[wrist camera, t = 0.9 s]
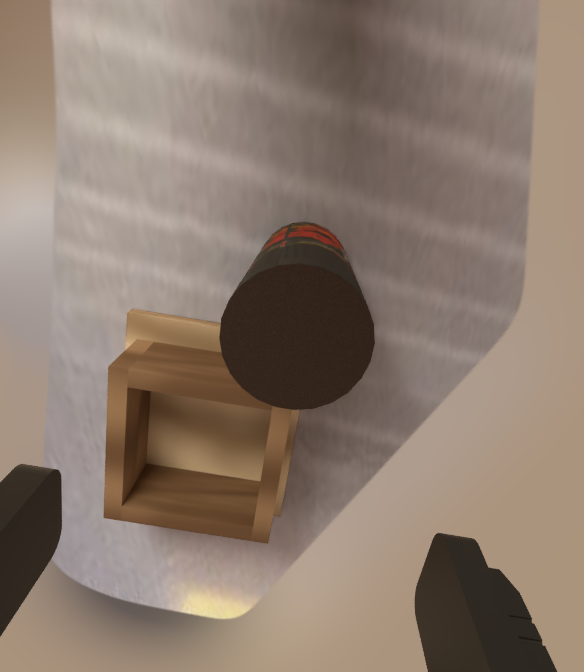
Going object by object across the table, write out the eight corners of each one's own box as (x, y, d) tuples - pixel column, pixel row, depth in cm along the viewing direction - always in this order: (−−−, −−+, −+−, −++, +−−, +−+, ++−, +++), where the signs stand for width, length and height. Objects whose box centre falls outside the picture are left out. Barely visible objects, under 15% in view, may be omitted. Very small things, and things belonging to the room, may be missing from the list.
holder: (132, 308, 34) (96, 336, 28) (312, 338, 34) (312, 371, 28) (123, 483, 39) (91, 536, 33) (280, 507, 39) (275, 565, 33)
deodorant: (364, 268, 32) (407, 344, 18) (300, 325, 34) (293, 436, 19) (305, 202, 31) (299, 228, 17) (241, 264, 32) (187, 336, 18)
